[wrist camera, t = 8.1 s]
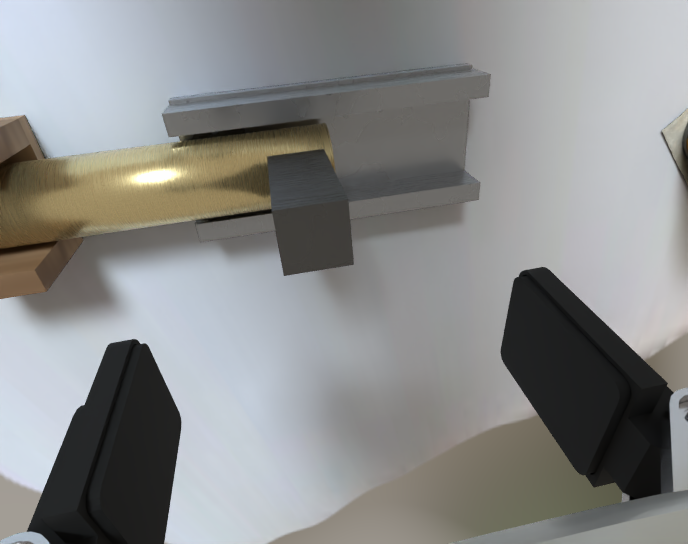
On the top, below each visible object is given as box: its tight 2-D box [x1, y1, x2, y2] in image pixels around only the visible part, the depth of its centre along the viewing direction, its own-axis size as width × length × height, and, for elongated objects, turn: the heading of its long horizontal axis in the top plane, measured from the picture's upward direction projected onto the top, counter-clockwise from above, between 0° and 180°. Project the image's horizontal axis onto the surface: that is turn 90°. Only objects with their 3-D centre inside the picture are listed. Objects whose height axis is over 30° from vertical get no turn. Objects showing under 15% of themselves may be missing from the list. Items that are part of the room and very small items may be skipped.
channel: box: [162, 63, 491, 242], centre depth 27 cm, size 8×18×3 cm, turn 95°
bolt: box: [0, 123, 354, 276], centre depth 21 cm, size 4×20×11 cm, turn 95°
